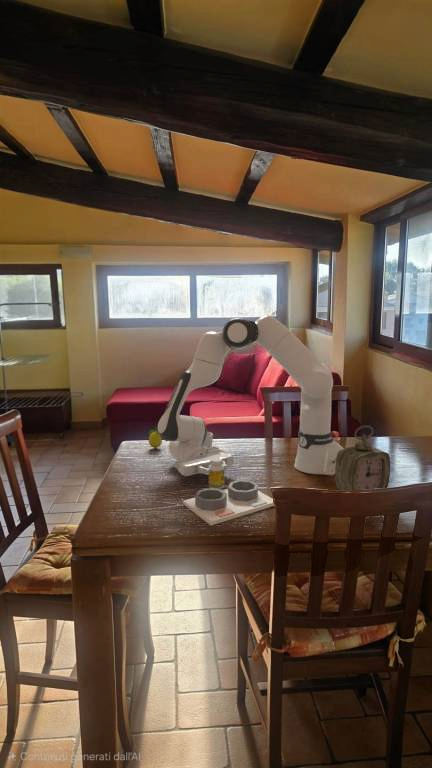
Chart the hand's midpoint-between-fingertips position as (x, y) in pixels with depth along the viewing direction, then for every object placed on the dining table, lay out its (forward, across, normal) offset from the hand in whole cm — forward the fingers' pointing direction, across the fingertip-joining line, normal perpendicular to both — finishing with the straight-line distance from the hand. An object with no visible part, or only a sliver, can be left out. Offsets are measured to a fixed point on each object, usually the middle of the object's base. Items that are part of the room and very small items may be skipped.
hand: (217, 470), depth 156 cm
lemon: (-48, 0, +6) cm, 48 cm away
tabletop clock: (+34, +30, +6) cm, 46 cm away
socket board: (+13, -4, +6) cm, 15 cm away
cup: (-34, +15, +6) cm, 38 cm away
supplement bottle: (-1, 0, +6) cm, 6 cm away
